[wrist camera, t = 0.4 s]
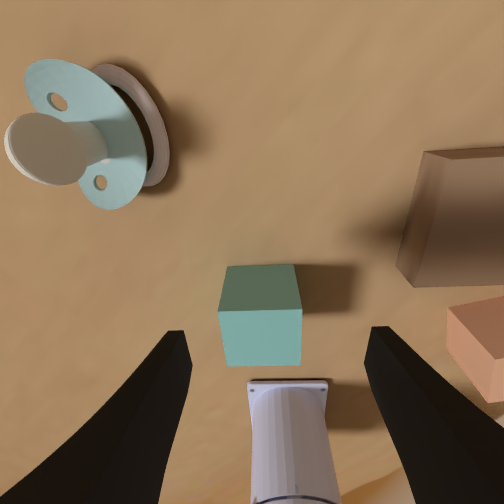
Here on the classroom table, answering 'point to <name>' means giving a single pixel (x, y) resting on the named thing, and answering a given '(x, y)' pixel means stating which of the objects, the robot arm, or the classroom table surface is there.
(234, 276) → the teal cube
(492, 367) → the terracotta cube
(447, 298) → the classroom table surface
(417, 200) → the walnut slab
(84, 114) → the pacifier
